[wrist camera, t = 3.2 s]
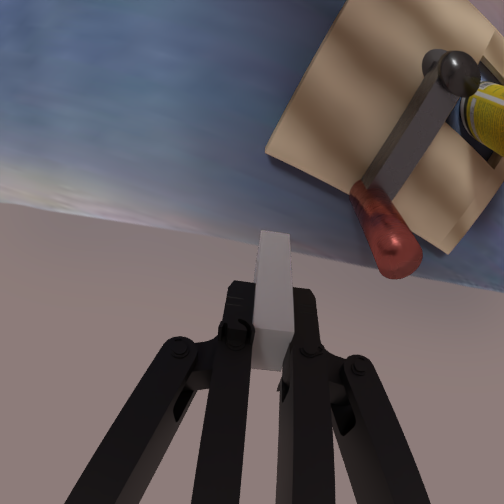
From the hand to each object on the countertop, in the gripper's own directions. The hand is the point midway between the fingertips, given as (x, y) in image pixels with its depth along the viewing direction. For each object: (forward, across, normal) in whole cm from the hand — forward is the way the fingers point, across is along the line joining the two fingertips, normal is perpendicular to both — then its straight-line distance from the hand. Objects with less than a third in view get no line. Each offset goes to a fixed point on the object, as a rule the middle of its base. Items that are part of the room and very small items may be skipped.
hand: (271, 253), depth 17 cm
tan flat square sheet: (+12, +13, +9) cm, 20 cm away
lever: (+9, +10, +7) cm, 15 cm away
